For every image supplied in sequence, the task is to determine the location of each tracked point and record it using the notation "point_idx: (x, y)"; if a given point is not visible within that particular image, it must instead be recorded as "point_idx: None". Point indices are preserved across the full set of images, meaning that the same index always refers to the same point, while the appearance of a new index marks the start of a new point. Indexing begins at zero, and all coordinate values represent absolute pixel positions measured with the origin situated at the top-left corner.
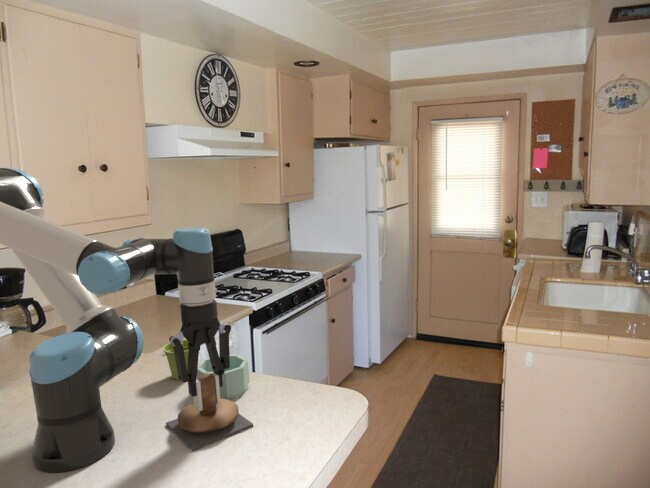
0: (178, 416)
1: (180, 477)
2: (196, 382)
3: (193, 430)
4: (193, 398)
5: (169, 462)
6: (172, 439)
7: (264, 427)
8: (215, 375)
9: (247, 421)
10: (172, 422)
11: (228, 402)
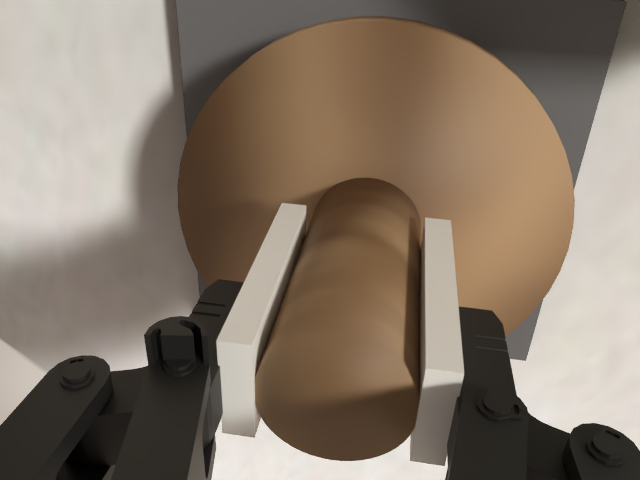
0: (196, 130)
1: None
2: (223, 422)
3: None
4: (267, 234)
5: (102, 304)
6: (162, 157)
7: (550, 389)
8: (424, 448)
9: (525, 325)
10: (208, 7)
11: (543, 215)
